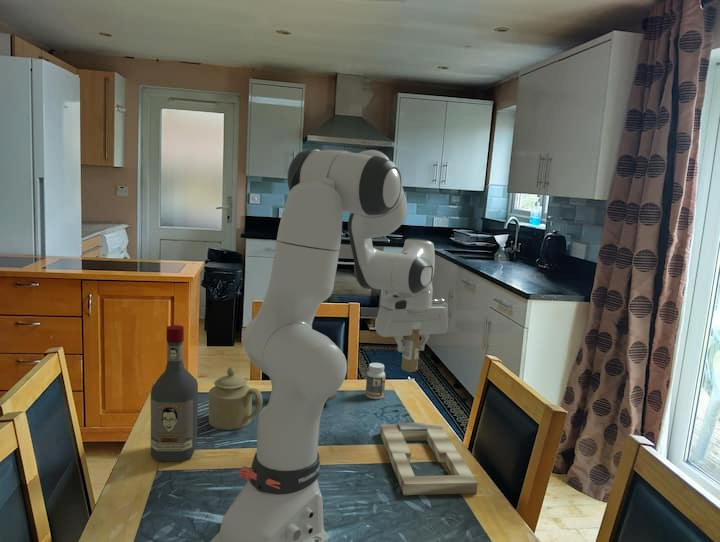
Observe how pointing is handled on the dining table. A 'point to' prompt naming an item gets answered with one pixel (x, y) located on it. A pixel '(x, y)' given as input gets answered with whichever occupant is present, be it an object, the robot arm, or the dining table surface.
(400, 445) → the keyhole board
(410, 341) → the sprinkles bottle
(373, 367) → the pill bottle
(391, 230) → the robot arm
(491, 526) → the dining table surface
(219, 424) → the sugar bowl
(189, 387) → the liquor
